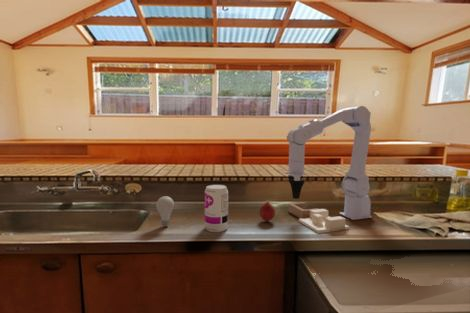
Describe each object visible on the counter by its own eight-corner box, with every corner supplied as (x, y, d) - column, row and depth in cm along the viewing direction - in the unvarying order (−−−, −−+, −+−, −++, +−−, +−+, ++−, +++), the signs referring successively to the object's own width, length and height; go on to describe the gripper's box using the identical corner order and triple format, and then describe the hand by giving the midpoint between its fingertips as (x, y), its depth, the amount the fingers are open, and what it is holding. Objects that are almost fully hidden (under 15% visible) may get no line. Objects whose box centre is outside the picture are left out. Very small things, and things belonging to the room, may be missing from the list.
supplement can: (210, 234, 85) (209, 190, 83) (201, 226, 92) (201, 185, 91) (231, 230, 89) (232, 188, 87) (221, 222, 96) (222, 183, 94)
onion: (274, 225, 94) (274, 203, 93) (258, 223, 95) (258, 202, 94) (274, 219, 100) (275, 199, 99) (260, 218, 101) (260, 198, 100)
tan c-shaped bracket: (304, 209, 112) (305, 202, 112) (319, 217, 103) (319, 209, 102) (288, 211, 110) (288, 203, 110) (301, 219, 100) (302, 211, 100)
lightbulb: (177, 224, 94) (177, 195, 93) (168, 230, 88) (167, 199, 87) (163, 222, 96) (162, 193, 95) (153, 228, 90) (152, 197, 89)
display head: (327, 218, 102) (327, 208, 102) (349, 229, 91) (349, 218, 90) (298, 221, 98) (299, 211, 98) (317, 233, 87) (318, 221, 86)
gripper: (285, 158, 105) (284, 190, 106) (286, 162, 90) (285, 200, 92) (303, 158, 103) (302, 191, 105) (306, 163, 89) (305, 201, 91)
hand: (295, 195), depth 98 cm, fingers open, 7 cm apart
